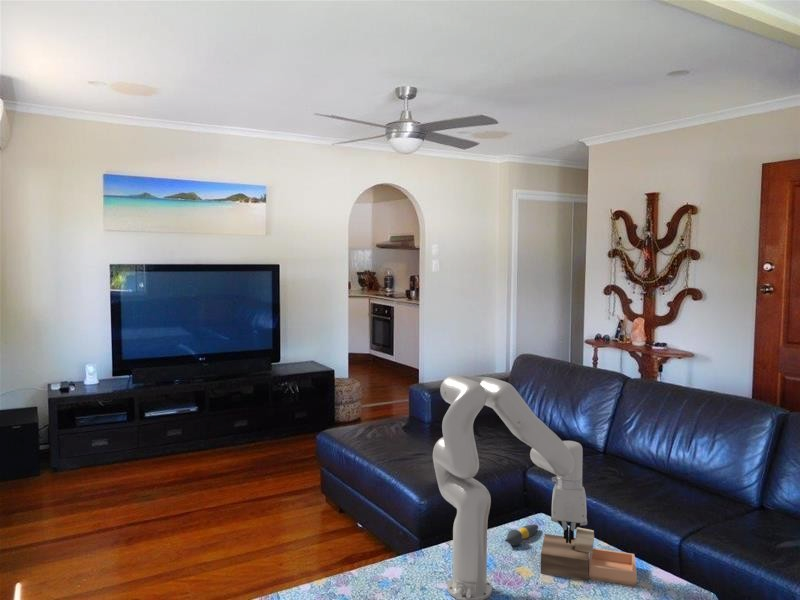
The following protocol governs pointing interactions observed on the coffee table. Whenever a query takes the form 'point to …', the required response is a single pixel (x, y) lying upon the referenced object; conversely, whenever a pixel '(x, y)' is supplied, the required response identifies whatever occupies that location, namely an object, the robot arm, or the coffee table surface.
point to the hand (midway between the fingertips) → (568, 541)
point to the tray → (613, 567)
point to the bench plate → (563, 558)
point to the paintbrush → (520, 534)
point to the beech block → (584, 540)
